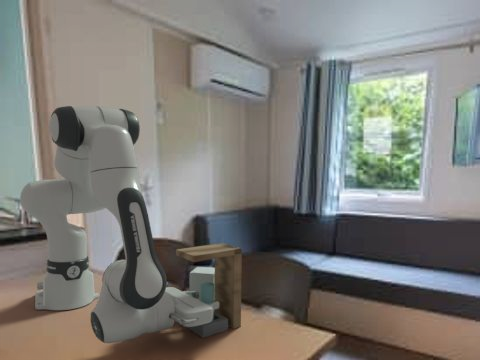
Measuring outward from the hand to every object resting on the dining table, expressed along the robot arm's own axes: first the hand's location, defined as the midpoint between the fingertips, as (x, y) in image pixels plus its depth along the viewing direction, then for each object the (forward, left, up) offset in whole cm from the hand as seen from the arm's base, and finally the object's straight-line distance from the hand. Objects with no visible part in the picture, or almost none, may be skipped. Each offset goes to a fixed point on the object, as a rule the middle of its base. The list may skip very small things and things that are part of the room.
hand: (207, 298), depth 103 cm
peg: (0, 0, -8) cm, 8 cm away
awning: (0, 0, -8) cm, 8 cm away
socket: (0, 0, -8) cm, 8 cm away
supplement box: (-10, +6, -8) cm, 15 cm away
